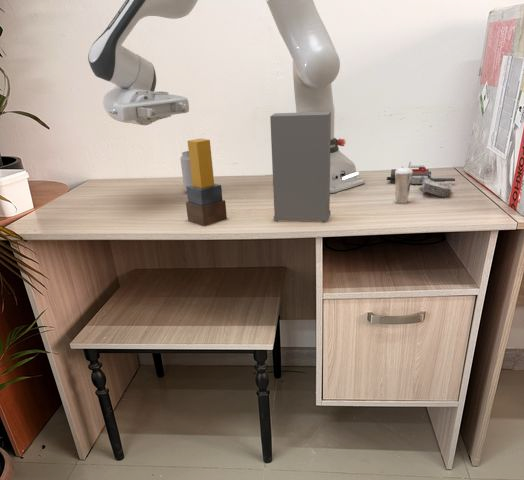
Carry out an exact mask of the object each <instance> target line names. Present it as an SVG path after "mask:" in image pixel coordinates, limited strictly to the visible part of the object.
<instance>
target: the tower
mask: <svg viewBox="0 0 524 480" xmlns="http://www.w3.org/2000/svg"><path fill="white" fill-rule="evenodd" d="M186 189H187V191H186V195H187V201H185V208H186V215H187V221H188V222H191V223H194V224H197V225H200V226H202V227H206V226H210V225H213V224H216V223H219V222H222V221H225V220H227V219H228V215H227V204H226V200H225V199H223V189H222V184H219V183H215V182H214V185H213V186H209V187H205V188H199V187H195V186H193V185H190V186H186Z"/></svg>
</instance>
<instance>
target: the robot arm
mask: <svg viewBox="0 0 524 480" xmlns="http://www.w3.org/2000/svg"><path fill="white" fill-rule="evenodd" d="M198 1H199V0H124V2H123V3H122V5H121V6H120V8H119V9H118V11H117V12H116V14H115V15H114V17H113V18H112V20H111V21H110V23H109V24H108V26H107V27H106V28H105V30H104V31H103V32H102V33H101V34H100V35H99V36H98V38H96V39H95V40H94V42H93V43H92V45H91V46H90V48H89V51H88V56H87V61H88V64H89V66H90V69H91V71H92V73H93V75H94V76H95V77H96V78H98V79H101V80H104V81H106V82H110V83H112V84H113V85H114V87H113V88H112V89H110V90H108V91H107V92H106V93H105V94H104V96H103V99H102V100H103V101H102V104H103V108H104V110H105V112H106V113H107V115H108V116H109V117H110V118H111V119H113V120H115V121H117V122H121V123H125V124H133V125H138V126H149V125H152V124H153V123H156V122H157V121H160V120H163V119H167V118H170V117H172V116H174V115H181V114H187V113H189V112H190V104H189V102H190V101H189V98H187V97H186V96H183V95H176V94H170V93H169V92H168V91H156V86H157V74H156V69H155V67H154V65H153V63H152V62H151V61H149V60H147V59H145V58H144V57H142V56H141V55H139V54H138V53H135V52H134V51H132V50H130V49H128V48H127V47H125V46H123V43H124V42H125V41H126V39H127V38H128V36H129V35H130V34H131V32H132V31H133V30H134V28H135V26H136V25H137V24H138V23H139V22H140V21H141V20H142V19H144V18H146V17H160V18H164V19H172V20H175V19H182V18H184V17H187V16H188V15H190V13H191V12H192V11H193V9H194V8H195V7H196V5H197V3H198ZM265 1H266V4H267V6H268V9H269V11H270V14H271V16H272V19H273V20H274V23H275V25H276V28H277V30H278V33H279V34H280V36H281V38H282V40H283V42H284V44H285V46H286V48H287V50H288V52H289V54H290V57H291V58H292V78H293V89H294V90H293V93H294V103H295V113H303V112H331V134H330V194H334V193H338V192H341V191H344V190H347V189H351V188H354V187H358V186H361V185H363V184H364V179H363V178H361V177H360V176H357V175H359V171H357V168H356V165H355V163H354V161H353V160H351V159H350V158H349V157H348V156H346V155H345V154H344V153H342V152H341V151H340V148H339V147H345V145H346V142H347V141H346V140H345V139H344V138H336V137H335V104H334V98H333V97H334V96H333V87H332V86H333V85H332V84H333V82H335V80H336V79H337V77H338V75H339V73H340V68H341V61H340V57H339V54H338V52H337V50H336V48H335V46H334V45H335V44H334V43H333V41H332V39H331V36H330V34H329V32H328V30H327V28H326V26H325V24H324V22H323V19H322V17H321V16H320V13H319V12H318V9H317V7H316V4H315V2H314V0H265Z"/></svg>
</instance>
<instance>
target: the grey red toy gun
mask: <svg viewBox="0 0 524 480" xmlns="http://www.w3.org/2000/svg"><path fill="white" fill-rule="evenodd" d="M404 167H405V166H400V168H404ZM397 169H398V168H392V169H391V171H390V176H387V177H386V181H389V182H390V183H391V184H396V183H395V171H396V170H397ZM410 169H412V171H413V173H412V179H411V184H413V185H414V184H415V185H423V184H422V182H419V177H420V178H421V176H423V177H424V178H426V179H430V180H432V181H435V182H437V183H444V182H455V181H456V179H455V178H454V177H442V178H441V177H432V171H430V169H428V168H426V166H425V165H410Z"/></svg>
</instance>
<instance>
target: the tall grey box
mask: <svg viewBox="0 0 524 480" xmlns="http://www.w3.org/2000/svg"><path fill="white" fill-rule="evenodd" d="M269 117H270V120H269V121H270V142H271V143H270V144H271V162H272V164H271V166H272V185H273V186H272V188H273V189H272V190H273V191H272V192H273V211H274V214H273V215H274V216H273V221H275V222H279V221H280V222H322V223H327V222H329V219H330V216H331V209H330V205H331V204H330V201H331V199H330V198H331V193H330V134H331V112H303V113H296V112H277V113H276V112H275V113H273V114H271V115H270V116H269Z"/></svg>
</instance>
